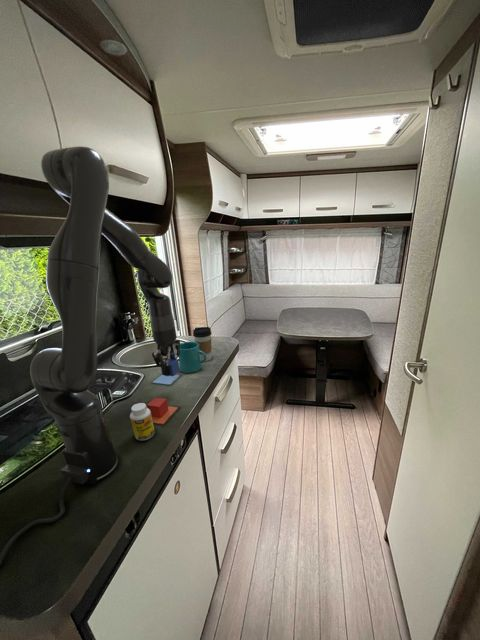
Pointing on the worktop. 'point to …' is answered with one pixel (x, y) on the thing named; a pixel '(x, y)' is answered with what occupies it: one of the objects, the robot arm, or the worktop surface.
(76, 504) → the worktop surface
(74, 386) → the robot arm
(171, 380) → the blue coaster
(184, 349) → the cup
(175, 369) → the blue block
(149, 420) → the supplement bottle
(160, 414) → the red block
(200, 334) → the coffee cup
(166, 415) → the orange coaster
